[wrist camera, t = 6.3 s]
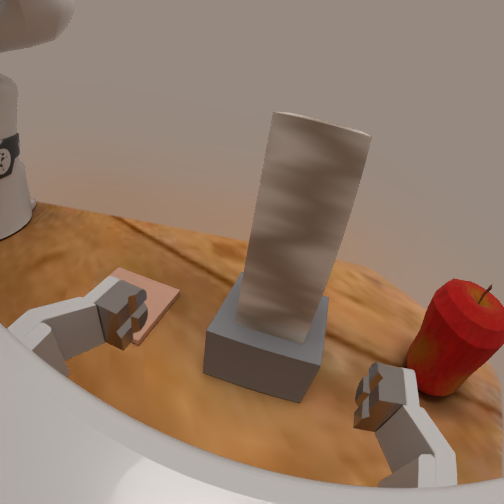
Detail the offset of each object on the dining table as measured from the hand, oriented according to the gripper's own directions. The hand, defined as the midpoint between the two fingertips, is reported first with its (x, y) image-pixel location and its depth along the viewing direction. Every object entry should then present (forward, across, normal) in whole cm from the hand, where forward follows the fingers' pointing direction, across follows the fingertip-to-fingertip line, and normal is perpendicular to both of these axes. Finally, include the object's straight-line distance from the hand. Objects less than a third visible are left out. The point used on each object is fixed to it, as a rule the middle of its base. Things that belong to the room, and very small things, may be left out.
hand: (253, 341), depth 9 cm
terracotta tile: (+10, +14, +12) cm, 21 cm away
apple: (+12, -17, +12) cm, 25 cm away
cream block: (+10, 0, +7) cm, 13 cm away
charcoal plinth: (+10, 0, +12) cm, 16 cm away
